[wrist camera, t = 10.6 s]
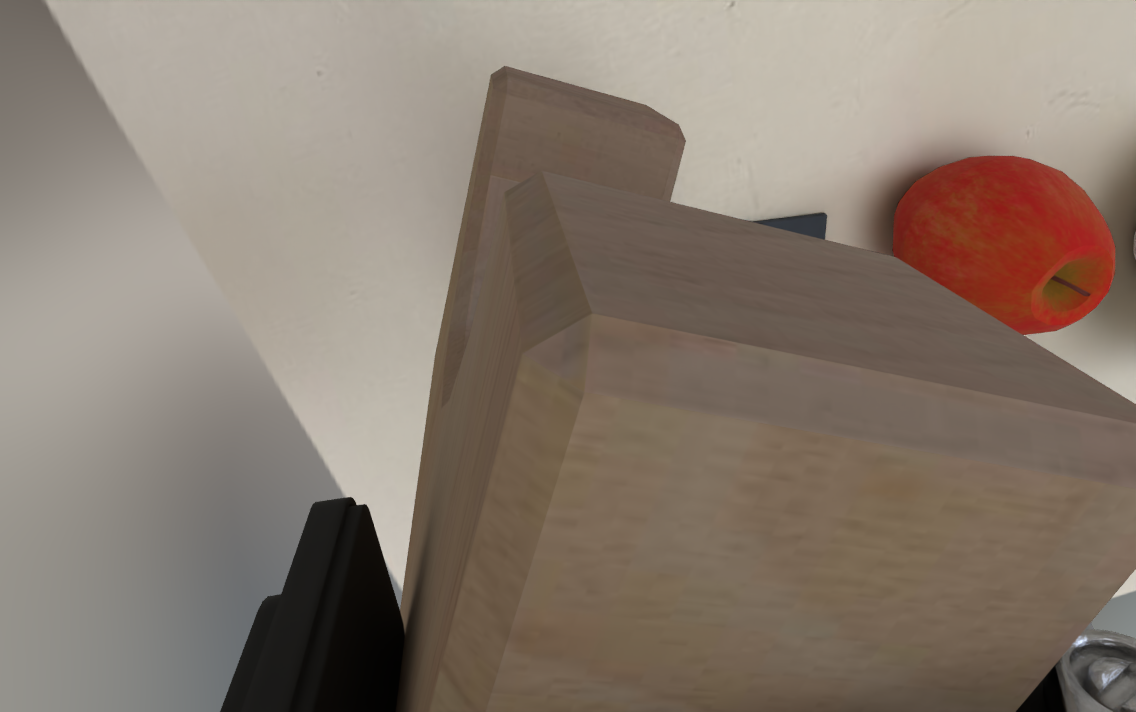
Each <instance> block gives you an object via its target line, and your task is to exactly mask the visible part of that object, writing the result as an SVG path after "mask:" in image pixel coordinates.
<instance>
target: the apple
mask: <svg viewBox="0 0 1136 712" xmlns="http://www.w3.org/2000/svg"><path fill="white" fill-rule="evenodd" d="M893 254H894V257H896V258H898V259H900V260H901V261H903V262H905V263H906V264H908V265H909V266H911V267H913V268H914V269H916V270H918V271H919V272H921V273H923V274H924V275H926V276H927V277H929V278H931V279H932V280H934V281H936V282H937V283H939V284H940V285H942V286H944V287H945V288H947V289H949V290H950V291H952V292H953V293H955V294H957V295H958V296H960V297H962V298H963V299H965V300H966V301H968V302H970V303H971V304H973V305H975V306H976V307H978V308H979V309H981V310H983V311H984V312H986V313H988V314H989V315H991V316H993V317H994V318H996V319H997V320H999V321H1001V322H1002V323H1004V324H1006V325H1007V326H1009V327H1010V328H1012V329H1014V330H1015V331H1017V332H1019V333H1020V334H1022V335H1027V334H1035V333H1043V332H1051V331H1057V330H1059V329H1061V328H1064V327H1066V326H1068V325H1071V324H1073V323H1075V322H1076V321H1078V320H1080V319H1082V318H1083V317H1084V316H1086V315H1087V314H1088V313H1089V312H1091V311H1092V310H1093V309H1095V308H1096V307H1097V305H1098V304H1099V303H1100V302H1101V301H1102V299H1103V298H1104V297H1105V296H1106V294H1107V293H1108V291H1109V289H1110V286H1111V283H1112V280H1113V277H1114V275H1115V245H1114V241H1113V238H1112V235H1111V232H1110V230H1109V228H1108V226H1107V224H1106V222H1105V220H1104V218H1103V216H1102V215H1101V213H1100V212H1099V211H1098V209H1097V208H1096V206H1095V205H1094V203H1093V202H1092V201H1091V199H1090V198H1089V196H1088V195H1087V194H1086V192H1085V191H1084V190H1083V189H1082V188H1081V187H1080V186H1078V185H1077V184H1076V183H1075V182H1074V181H1073V180H1071V179H1070V178H1069V177H1068V176H1067V175H1065V174H1064V173H1063V172H1062V171H1059V170H1057V169H1054V168H1052V167H1049V166H1046V165H1044V164H1041V163H1039V162H1036V161H1034V160H1031V159H1026V158H1021V157H1015V156H979V157H969V158H966V159H963V160H960V161H957V162H954V163H950V164H947V165H944V166H941V167H939V168H937V169H935V170H934V171H932V172H930V173H929V174H927V175H925V176H924V177H922V178H920V179H919V180H917V181H916V182H915V183H914V184H913V185H912V186H911V187H910V189H909V190H908V191H907V192H906V193H905V194H904V196H903V197H902V199H901V200H900V201H899V203H898V205H897V208H896V211H895V214H894V231H893Z"/></svg>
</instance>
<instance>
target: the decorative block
mask: <svg viewBox="0 0 1136 712" xmlns="http://www.w3.org/2000/svg"><path fill="white" fill-rule="evenodd" d="M685 142H686V140H685V138H684V136H683V133H682V131H681V129H680V126H679V125H678V124H677V123H675V122H673V121H672V120H670V119H668V118H667V117H665V116H663V115H662V114H660V113H658V112H657V111H655V110H653V109H652V108H650V107H648V106H647V105H644V104H640V103H636V102H633V101H629V100H626V99H622V98H618V97H615V96H611V95H608V94H604V93H600V92H597V91H593V90H589V89H586V88H582V87H579V86H575V85H571V84H568V83H564V82H561V81H557V80H553V79H550V78H546V77H543V76H539V75H535V74H532V73H528V72H525V71H521V70H517V69H514V68H510V67H507V66H504V67H502V68H501V69H499V70H498V71H496V72H495V73H493V74H492V75H491V78H490V83H489V88H488V93H487V98H486V103H485V108H484V113H483V118H482V123H481V128H480V133H479V138H478V143H477V148H476V153H475V158H474V163H473V168H472V173H471V178H470V183H469V188H468V193H467V198H466V203H465V208H464V213H463V218H462V223H461V228H460V233H459V238H458V244H457V249H456V254H455V259H454V264H453V269H452V274H451V279H450V284H449V289H448V294H447V299H446V304H445V309H444V314H443V319H442V324H441V329H440V334H439V339H438V344H437V349H436V354H435V360H434V368H433V375H432V382H431V389H430V397H429V404H428V411H427V418H426V426H425V433H424V440H423V447H422V455H421V462H420V469H419V477H418V484H417V491H416V499H415V506H414V513H413V520H412V528H411V535H410V542H409V549H408V557H407V564H406V571H405V578H404V586H403V593H402V601H401V608H400V613H401V616H402V620H403V624H404V631H405V639H404V647H403V655H402V664H401V672H400V680H399V688H398V696H397V704H396V712H1016V711H1017V709H1018V708H1019V707H1020V706H1021V705H1022V704H1023V702H1024V701H1025V700H1026V699H1027V698H1028V696H1029V695H1030V694H1031V693H1032V692H1033V690H1034V689H1035V688H1036V687H1037V686H1038V685H1039V683H1040V682H1041V681H1042V680H1043V679H1044V677H1045V676H1046V675H1047V674H1048V673H1049V671H1050V670H1051V669H1052V668H1053V667H1054V665H1055V664H1056V663H1057V662H1058V661H1059V660H1060V658H1061V657H1062V656H1063V655H1064V654H1065V652H1066V651H1067V650H1068V649H1069V648H1070V646H1071V645H1072V644H1073V643H1074V642H1075V641H1076V639H1077V638H1078V637H1079V636H1080V635H1081V633H1082V632H1083V631H1084V630H1085V629H1086V627H1087V626H1088V625H1089V624H1090V623H1091V621H1092V620H1093V619H1094V618H1095V617H1096V615H1097V614H1098V613H1099V612H1100V611H1101V610H1102V608H1103V607H1104V606H1105V605H1106V604H1107V602H1108V601H1109V600H1110V599H1111V598H1112V597H1113V595H1114V594H1115V593H1116V592H1117V591H1118V589H1119V588H1120V587H1121V586H1122V585H1123V583H1124V582H1125V581H1126V580H1127V579H1128V578H1129V576H1130V575H1131V574H1132V573H1133V572H1134V570H1135V569H1136V404H1134V403H1133V402H1131V401H1129V400H1128V399H1126V398H1124V397H1123V396H1121V395H1120V394H1118V393H1116V392H1115V391H1113V390H1111V389H1110V388H1108V387H1106V386H1105V385H1103V384H1102V383H1100V382H1098V381H1097V380H1095V379H1093V378H1092V377H1090V376H1089V375H1087V374H1085V373H1084V372H1082V371H1080V370H1079V369H1077V368H1076V367H1074V366H1072V365H1071V364H1069V363H1067V362H1066V361H1064V360H1063V359H1061V358H1059V357H1058V356H1056V355H1054V354H1053V353H1051V352H1050V351H1048V350H1046V349H1045V348H1043V347H1041V346H1040V345H1038V344H1036V343H1035V342H1033V341H1032V340H1030V339H1028V338H1027V337H1025V336H1023V335H1022V334H1020V333H1019V332H1017V331H1015V330H1014V329H1012V328H1010V327H1009V326H1007V325H1006V324H1004V323H1002V322H1001V321H999V320H997V319H996V318H994V317H993V316H991V315H989V314H988V313H986V312H984V311H983V310H981V309H979V308H978V307H976V306H975V305H973V304H971V303H970V302H968V301H966V300H965V299H963V298H962V297H960V296H958V295H957V294H955V293H953V292H952V291H950V290H949V289H947V288H945V287H944V286H942V285H940V284H939V283H937V282H936V281H934V280H932V279H931V278H929V277H927V276H926V275H924V274H923V273H921V272H919V271H918V270H916V269H914V268H913V267H911V266H909V265H908V264H906V263H905V262H903V261H901V260H900V259H898V258H896V257H893V256H889V255H885V254H880V253H876V252H872V251H868V250H864V249H860V248H856V247H852V246H848V245H844V244H840V243H836V242H831V241H827V240H823V239H819V238H815V237H811V236H807V235H803V234H799V233H795V232H791V231H786V230H782V229H778V228H774V227H770V226H766V225H762V224H758V223H754V222H750V221H746V220H742V219H737V218H733V217H729V216H725V215H721V214H717V213H713V212H709V211H705V210H701V209H697V208H693V207H688V206H684V205H680V204H676V203H672V202H670V200H671V196H672V192H673V188H674V184H675V181H676V177H677V173H678V169H679V165H680V161H681V158H682V154H683V150H684V146H685Z"/></svg>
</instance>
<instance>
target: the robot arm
mask: <svg viewBox="0 0 1136 712" xmlns="http://www.w3.org/2000/svg"><path fill="white" fill-rule="evenodd" d="M404 639H405V631H404V624H403V620H402V616H401V613H400V610H399V607H398V603H397V600H396V597H395V593H394V590H393V587H392V584H391V580H390V577H389V574H388V570H387V567H386V564H385V560H384V557H383V554H382V550H381V547H380V544H379V541H378V537H377V534H376V531H375V527H374V524H373V521H372V517H371V514H370V511H369V508H368V507H367V505H365V504H363V505H356V502H355V500H354V499H353V498H351V497H347V498H340V499H334V500H327V501H320V502H315V503H314V504H313V505H312V507H311V510H310V513H309V515H308V518H307V521H306V524H305V527H304V530H303V533H302V536H301V539H300V541H299V544H298V547H297V550H296V553H295V556H294V559H293V562H292V565H291V568H290V571H289V573H288V576H287V579H286V582H285V585H284V588H283V592H282V594H281V595H275V596H268V597H267V598H266V599H265V600H264V601H263V602H262V604H261V606H260V608H259V610H258V612H257V615H256V617H255V620H254V623H253V625H252V628H251V631H250V634H249V636H248V639H247V641H246V644H245V647H244V649H243V652H242V655H241V657H240V660H239V663H238V666H237V668H236V671H235V674H234V676H233V679H232V682H231V684H230V687H229V690H228V692H227V695H226V698H225V701H224V703H223V706H222V708H221V711H220V712H396V704H397V696H398V688H399V680H400V672H401V664H402V655H403V647H404ZM1016 712H1136V639H1135V638H1133V637H1130V636H1126V635H1123V634H1119V633H1116V632H1112V631H1106V630H1105V631H1104V630H1095V629H1087V630H1084V631H1083V632H1082V633H1081V635H1080V636H1079V637H1078V638H1077V639H1076V641H1075V642H1074V643H1073V644H1072V645H1071V646H1070V648H1069V649H1068V650H1067V651H1066V652H1065V654H1064V655H1063V656H1062V657H1061V658H1060V660H1059V661H1058V662H1057V663H1056V664H1055V665H1054V667H1053V668H1052V669H1051V670H1050V671H1049V673H1048V674H1047V675H1046V676H1045V677H1044V679H1043V680H1042V681H1041V682H1040V683H1039V685H1038V686H1037V687H1036V688H1035V689H1034V690H1033V692H1032V693H1031V694H1030V695H1029V696H1028V698H1027V699H1026V700H1025V701H1024V702H1023V704H1022V705H1021V706H1020V707H1019V708H1018V709H1017V711H1016Z"/></svg>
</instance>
